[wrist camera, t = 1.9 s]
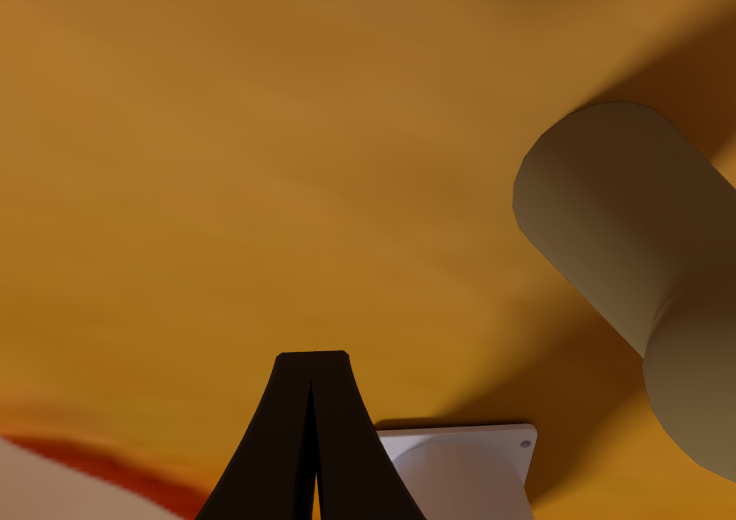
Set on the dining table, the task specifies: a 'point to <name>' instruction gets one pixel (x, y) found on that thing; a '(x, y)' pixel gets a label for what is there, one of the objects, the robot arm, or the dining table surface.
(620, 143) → the cork
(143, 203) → the dining table surface
